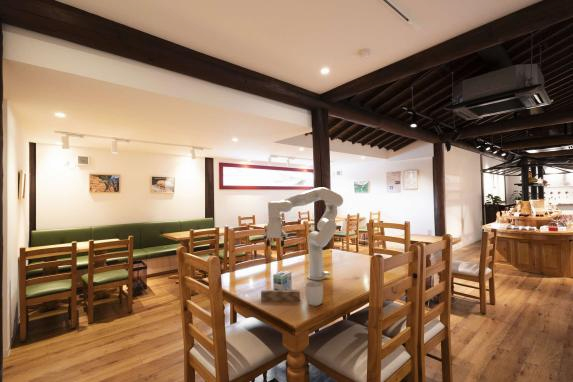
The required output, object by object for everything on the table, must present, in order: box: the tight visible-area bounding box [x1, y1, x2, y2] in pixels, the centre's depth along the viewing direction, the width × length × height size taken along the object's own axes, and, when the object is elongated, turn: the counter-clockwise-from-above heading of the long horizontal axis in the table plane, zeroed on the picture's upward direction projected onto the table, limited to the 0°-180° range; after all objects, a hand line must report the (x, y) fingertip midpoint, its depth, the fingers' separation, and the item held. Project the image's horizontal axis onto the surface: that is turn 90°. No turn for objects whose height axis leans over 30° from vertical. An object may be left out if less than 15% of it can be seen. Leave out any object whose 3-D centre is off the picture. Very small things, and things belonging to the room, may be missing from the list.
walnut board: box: [260, 289, 301, 302], centre depth 146 cm, size 21×2×5 cm, turn 86°
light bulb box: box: [272, 270, 293, 290], centre depth 160 cm, size 11×7×11 cm, turn 148°
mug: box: [305, 281, 324, 307], centre depth 143 cm, size 13×9×10 cm
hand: (275, 246), depth 175 cm, fingers open, 9 cm apart
